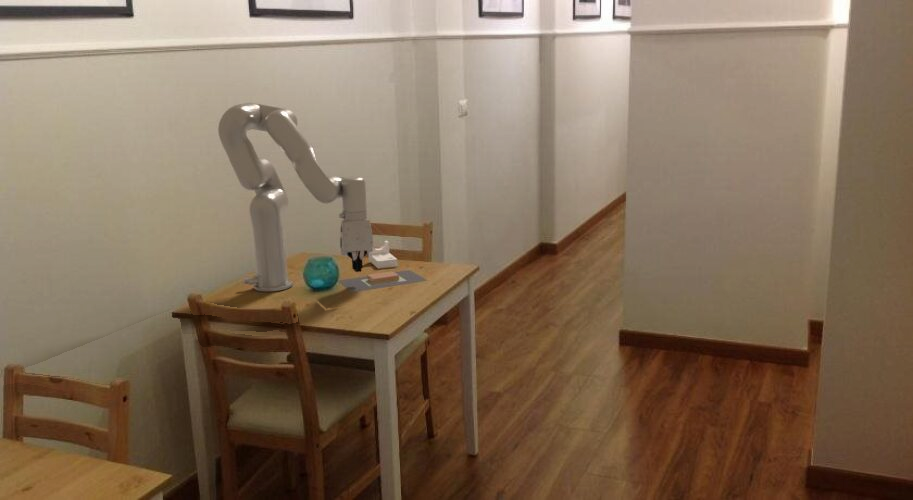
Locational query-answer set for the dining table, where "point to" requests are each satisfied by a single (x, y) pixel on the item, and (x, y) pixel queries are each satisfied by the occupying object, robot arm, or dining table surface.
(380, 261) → the bracket
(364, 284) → the mat
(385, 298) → the dining table surface
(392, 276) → the tile
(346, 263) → the dining table surface
